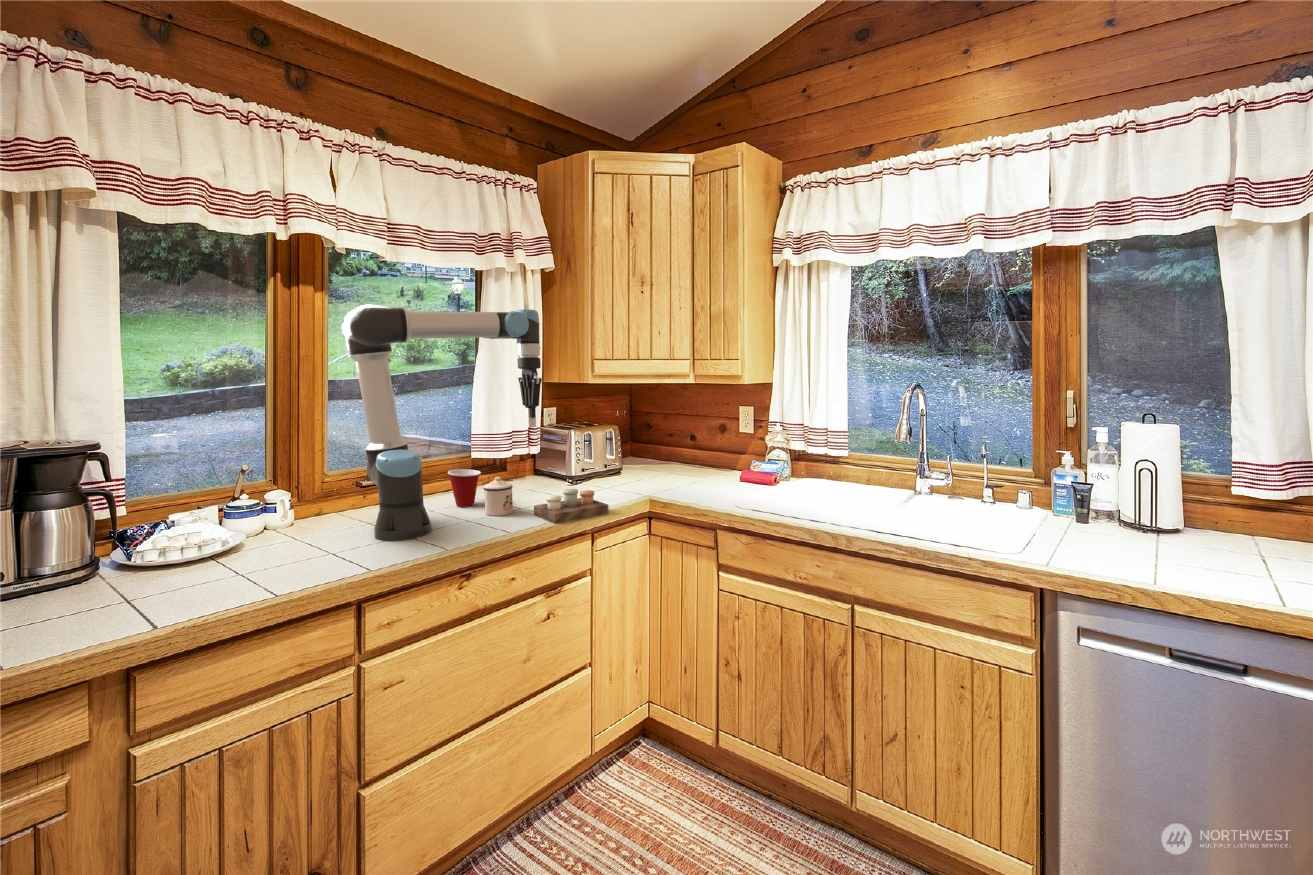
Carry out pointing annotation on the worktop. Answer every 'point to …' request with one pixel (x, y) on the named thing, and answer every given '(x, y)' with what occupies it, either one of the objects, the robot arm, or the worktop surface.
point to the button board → (571, 511)
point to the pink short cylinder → (587, 497)
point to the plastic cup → (464, 486)
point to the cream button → (553, 502)
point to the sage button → (570, 497)
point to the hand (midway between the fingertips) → (531, 426)
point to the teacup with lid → (498, 498)
